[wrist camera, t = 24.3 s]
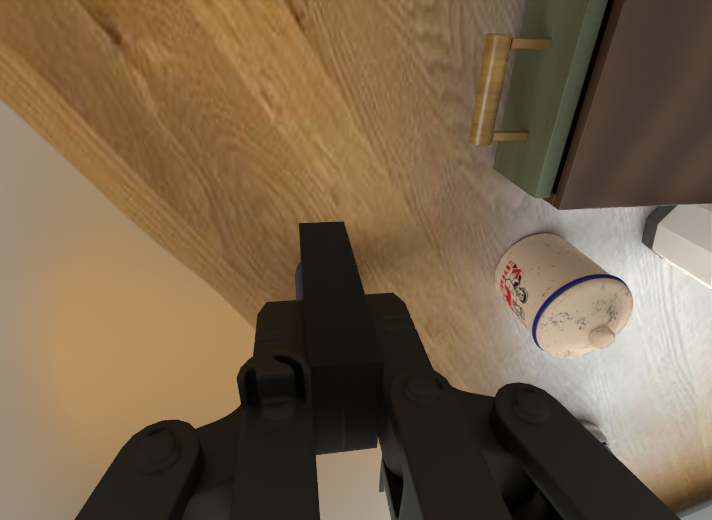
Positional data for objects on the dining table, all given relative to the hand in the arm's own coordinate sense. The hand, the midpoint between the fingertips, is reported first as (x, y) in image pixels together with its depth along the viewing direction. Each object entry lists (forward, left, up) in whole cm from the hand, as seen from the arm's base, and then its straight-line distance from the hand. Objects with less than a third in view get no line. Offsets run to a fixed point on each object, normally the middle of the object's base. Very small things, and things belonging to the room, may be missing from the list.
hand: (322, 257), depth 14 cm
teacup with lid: (-16, -24, -21) cm, 36 cm away
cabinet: (+3, -26, -21) cm, 34 cm away
